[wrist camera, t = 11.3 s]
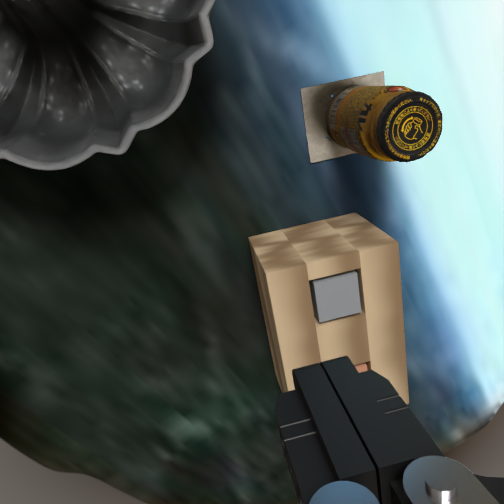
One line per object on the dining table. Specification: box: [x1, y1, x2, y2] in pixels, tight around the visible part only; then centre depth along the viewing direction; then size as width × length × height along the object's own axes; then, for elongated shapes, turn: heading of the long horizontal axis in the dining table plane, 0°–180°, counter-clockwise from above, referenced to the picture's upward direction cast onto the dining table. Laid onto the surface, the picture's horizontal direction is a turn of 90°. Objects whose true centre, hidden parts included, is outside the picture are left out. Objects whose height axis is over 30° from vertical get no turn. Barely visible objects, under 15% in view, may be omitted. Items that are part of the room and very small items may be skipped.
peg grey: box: [309, 270, 361, 322], centre depth 44 cm, size 4×4×8 cm
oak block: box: [248, 212, 409, 404], centre depth 46 cm, size 12×18×10 cm, turn 11°
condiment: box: [301, 71, 442, 163], centre depth 39 cm, size 7×8×12 cm
